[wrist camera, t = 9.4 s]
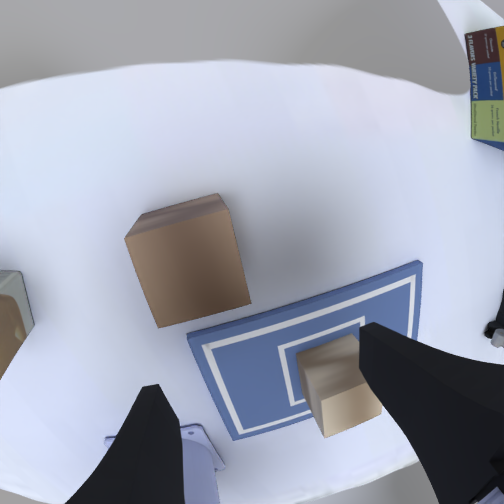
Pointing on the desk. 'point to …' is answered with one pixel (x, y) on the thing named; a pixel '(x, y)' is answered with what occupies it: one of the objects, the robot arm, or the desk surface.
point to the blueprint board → (295, 347)
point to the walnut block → (188, 261)
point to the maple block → (336, 386)
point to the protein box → (487, 85)
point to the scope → (497, 328)
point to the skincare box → (12, 317)
